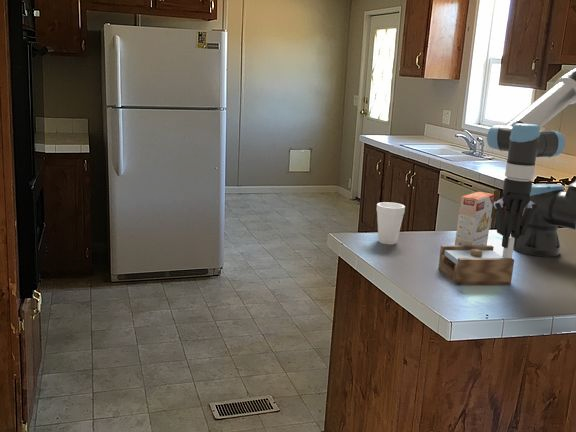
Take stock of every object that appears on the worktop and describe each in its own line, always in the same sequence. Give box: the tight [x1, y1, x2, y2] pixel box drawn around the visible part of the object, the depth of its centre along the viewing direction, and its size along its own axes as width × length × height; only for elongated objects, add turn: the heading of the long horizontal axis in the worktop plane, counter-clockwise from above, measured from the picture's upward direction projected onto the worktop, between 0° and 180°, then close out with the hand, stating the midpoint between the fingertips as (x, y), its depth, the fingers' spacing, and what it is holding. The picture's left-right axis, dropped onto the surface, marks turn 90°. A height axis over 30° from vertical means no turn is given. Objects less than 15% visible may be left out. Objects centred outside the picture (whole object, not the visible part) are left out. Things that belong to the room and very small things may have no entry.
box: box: [437, 244, 515, 286], centre depth 175 cm, size 16×14×8 cm
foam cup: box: [376, 201, 406, 245], centre depth 207 cm, size 10×9×13 cm
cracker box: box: [454, 191, 495, 246], centre depth 192 cm, size 14×6×21 cm, turn 141°
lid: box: [444, 249, 504, 265], centre depth 174 cm, size 15×10×3 cm
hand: (507, 258), depth 176 cm, fingers closed
